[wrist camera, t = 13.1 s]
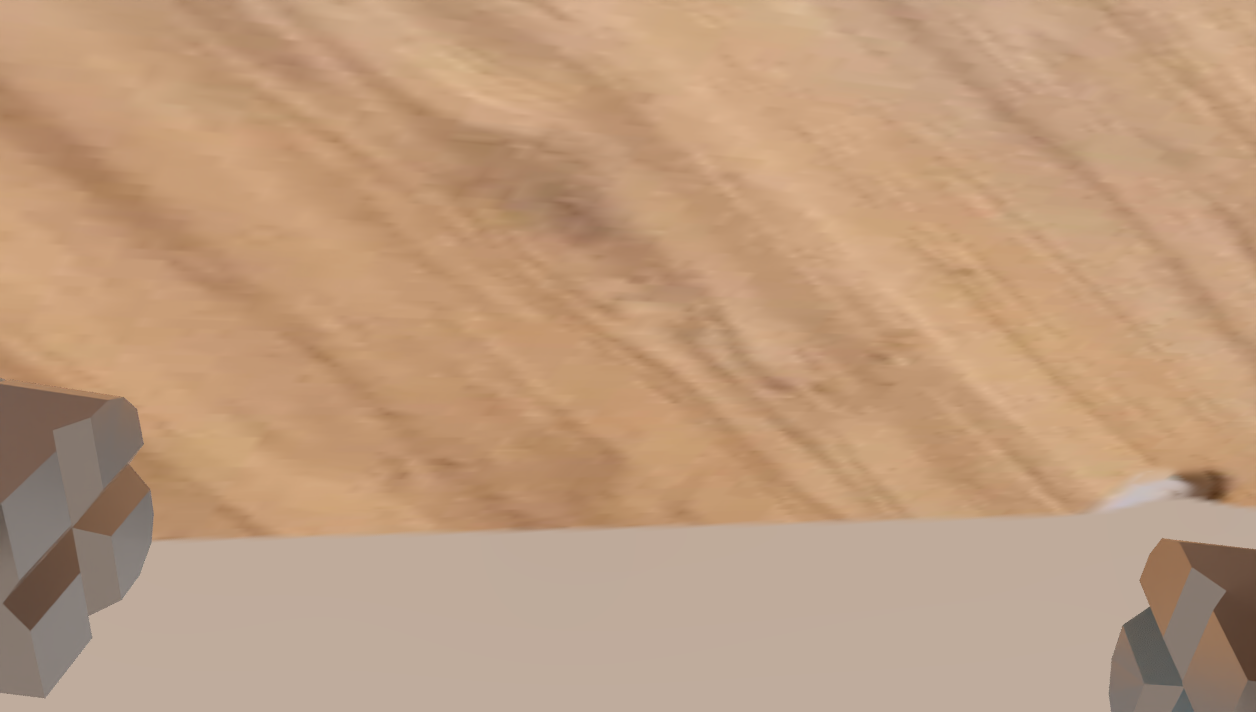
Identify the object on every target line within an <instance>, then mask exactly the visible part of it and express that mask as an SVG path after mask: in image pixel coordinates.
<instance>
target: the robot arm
mask: <svg viewBox="0 0 1256 712" xmlns="http://www.w3.org/2000/svg"><path fill="white" fill-rule="evenodd" d="M143 444H144V443H143V438H142V433H141V427H140V422H139V417H138V412H137V409H136V408H135V407H134V406H133V405H132V404H131V403H130V402H128V401H127V400H126V399H125V398H124V397H120V396H113V395H107V394H100V393H94V392H87V391H81V390H75V389H68V388H62V387H55V386H49V385H42V384H36V383H30V382H23V381H17V380H4V379H2V378H0V693H7V694H15V695H23V696H31V697H39V698H46V696H47V695H48V694H49V692H50V691H51V690H52V689H53V687H54V686H55V685H56V684H57V682H58V681H59V680H60V678H61V677H62V676H63V675H64V673H65V672H66V671H67V669H68V668H69V667H70V666H71V664H72V663H73V662H74V661H75V659H76V658H77V657H78V655H79V654H80V653H81V652H82V650H83V649H84V648H85V646H86V645H87V644H88V643H89V641H90V640H91V639H92V635H91V629H90V623H89V618H88V616H89V615H91V614H93V613H95V612H98V611H100V610H102V609H104V608H106V607H108V606H110V605H112V604H114V603H116V602H118V601H120V600H122V598H123V597H124V596H125V594H126V593H127V591H128V590H129V589H130V588H131V586H132V585H133V583H134V582H135V581H136V579H137V578H138V576H139V575H140V572H141V570H142V567H143V564H144V561H145V558H146V556H147V553H148V550H149V548H150V545H151V541H152V529H153V516H154V513H153V506H152V498H151V490H150V488H149V487H148V486H147V485H146V484H145V482H144V481H143V480H142V479H141V478H140V477H139V475H138V474H137V473H136V472H135V471H134V469H133V468H132V467H131V466H130V465H129V463H130V462H131V461H132V459H133V458H134V457H135V455H136V454H137V452H138V451H139V450H140V448H141V447H142V446H143ZM1140 583H1141V585H1142V588H1143V590H1144V593H1145V595H1146V597H1147V600H1148V602H1149V605H1150V607H1149V608H1147V609H1146V610H1144V611H1143V612H1141V613H1140V614H1138V615H1137V616H1135V617H1134V618H1133V619H1131V620H1130V621H1128V622H1127V623H1125V624H1124V625H1123V626H1122V629H1121V632H1120V635H1119V638H1118V642H1117V644H1116V648H1115V650H1114V654H1113V656H1112V662H1111V674H1110V686H1109V699H1110V707H1111V712H1256V549H1249V548H1240V547H1231V546H1223V545H1215V544H1206V543H1197V542H1189V541H1181V540H1171V539H1164V538H1162V539H1161V540H1160V542H1159V543H1158V544H1157V546H1156V547H1155V548H1154V549H1153V551H1152V552H1151V553H1150V555H1149V557H1148V560H1147V563H1146V565H1145V568H1144V571H1143V573H1142V575H1141V578H1140Z"/></svg>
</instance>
